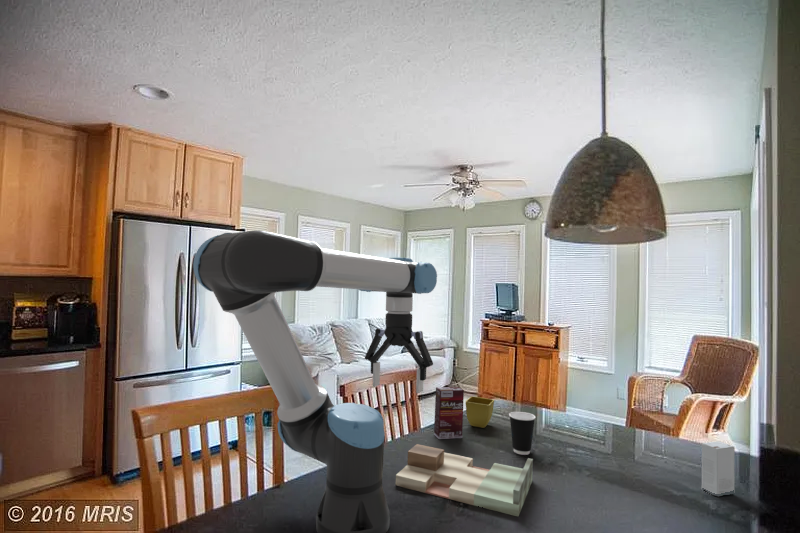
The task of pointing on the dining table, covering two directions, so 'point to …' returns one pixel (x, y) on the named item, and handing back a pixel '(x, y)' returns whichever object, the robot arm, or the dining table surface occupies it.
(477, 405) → the flower pot
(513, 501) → the platform
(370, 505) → the robot arm
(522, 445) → the dixie cup
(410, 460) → the walnut block
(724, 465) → the skincare box
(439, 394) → the supplement box
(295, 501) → the dining table surface
